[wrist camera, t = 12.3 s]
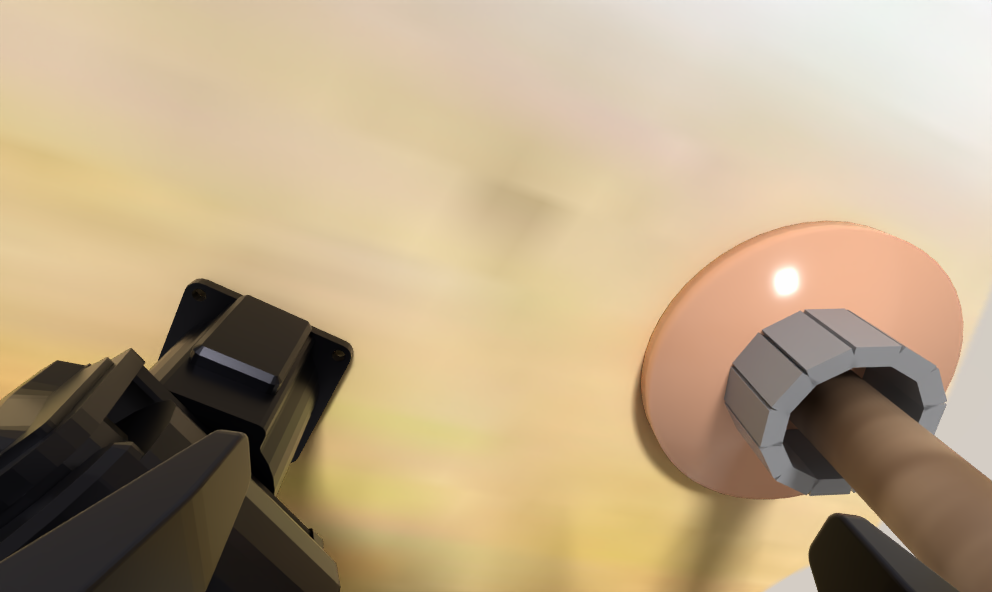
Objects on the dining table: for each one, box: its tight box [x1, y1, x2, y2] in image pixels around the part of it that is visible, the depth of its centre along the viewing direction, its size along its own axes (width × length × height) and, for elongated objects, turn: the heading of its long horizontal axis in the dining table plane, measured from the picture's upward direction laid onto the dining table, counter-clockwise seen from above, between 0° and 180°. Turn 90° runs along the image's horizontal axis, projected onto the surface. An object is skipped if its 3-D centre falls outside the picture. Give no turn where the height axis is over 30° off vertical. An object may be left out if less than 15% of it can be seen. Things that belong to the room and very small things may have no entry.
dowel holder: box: [641, 221, 963, 499], centre depth 21 cm, size 13×13×4 cm
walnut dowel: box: [789, 369, 992, 592], centre depth 16 cm, size 3×3×13 cm
